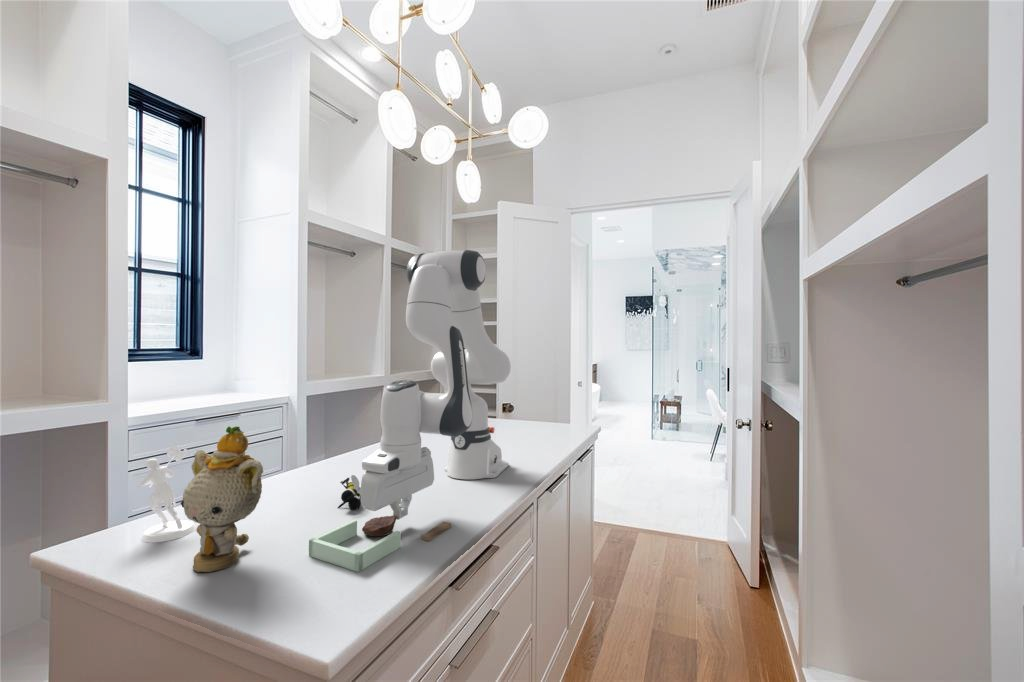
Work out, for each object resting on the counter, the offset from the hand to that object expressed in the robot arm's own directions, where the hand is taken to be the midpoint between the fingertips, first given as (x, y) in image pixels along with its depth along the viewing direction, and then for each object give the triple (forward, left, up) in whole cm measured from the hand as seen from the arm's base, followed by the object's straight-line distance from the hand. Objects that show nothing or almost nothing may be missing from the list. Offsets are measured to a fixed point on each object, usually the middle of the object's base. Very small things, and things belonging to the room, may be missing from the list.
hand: (400, 517), depth 97 cm
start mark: (-1, +9, -2) cm, 9 cm away
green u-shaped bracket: (+13, 0, -2) cm, 13 cm away
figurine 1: (+25, -42, -2) cm, 49 cm away
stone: (+5, -2, -2) cm, 5 cm away
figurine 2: (+27, -19, -2) cm, 33 cm away
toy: (-6, -21, -3) cm, 22 cm away
